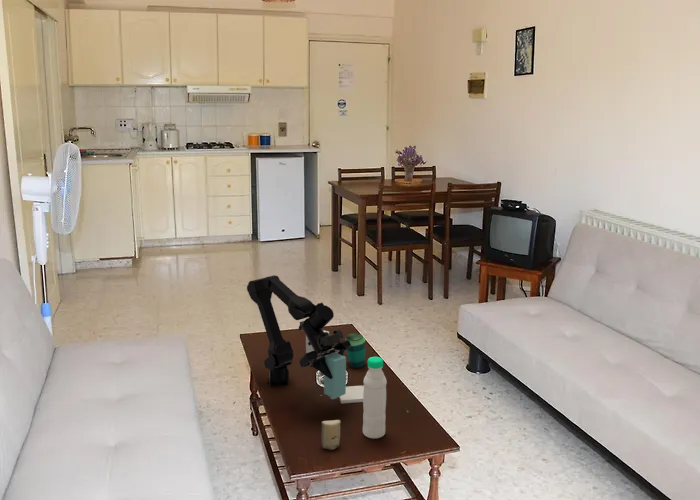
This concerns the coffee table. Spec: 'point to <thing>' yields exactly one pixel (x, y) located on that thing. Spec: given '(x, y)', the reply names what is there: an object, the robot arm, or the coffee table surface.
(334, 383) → the teal block
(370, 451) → the coffee table surface
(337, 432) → the power adapter
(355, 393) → the cream tile
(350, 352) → the cup
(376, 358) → the water bottle
